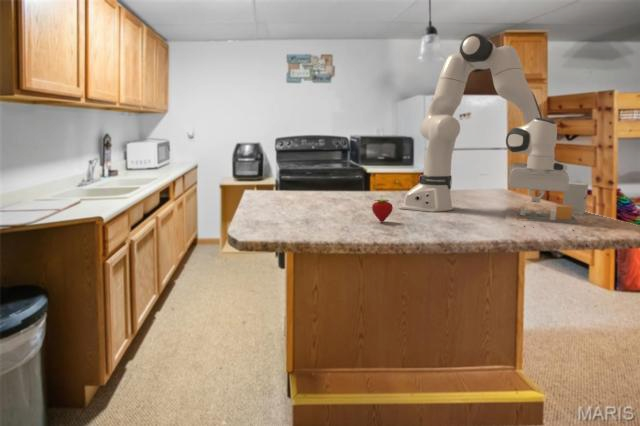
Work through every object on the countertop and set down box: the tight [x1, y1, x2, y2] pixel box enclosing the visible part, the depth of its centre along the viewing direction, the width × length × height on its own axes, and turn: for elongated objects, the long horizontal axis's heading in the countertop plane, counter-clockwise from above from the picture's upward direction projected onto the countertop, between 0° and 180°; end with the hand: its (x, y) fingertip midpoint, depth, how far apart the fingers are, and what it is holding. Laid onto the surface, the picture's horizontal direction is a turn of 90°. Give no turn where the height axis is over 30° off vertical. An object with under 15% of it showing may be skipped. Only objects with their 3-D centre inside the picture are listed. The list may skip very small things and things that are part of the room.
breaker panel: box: [516, 210, 579, 225], centre depth 182 cm, size 20×16×2 cm
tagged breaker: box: [549, 209, 556, 220], centre depth 178 cm, size 2×2×4 cm
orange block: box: [555, 204, 573, 219], centre depth 182 cm, size 5×5×4 cm
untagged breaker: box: [519, 205, 526, 216], centre depth 187 cm, size 2×2×4 cm
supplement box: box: [562, 181, 589, 216], centre depth 193 cm, size 7×7×13 cm
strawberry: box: [371, 195, 393, 223], centre depth 178 cm, size 6×8×10 cm
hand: (535, 202), depth 178 cm, fingers closed
